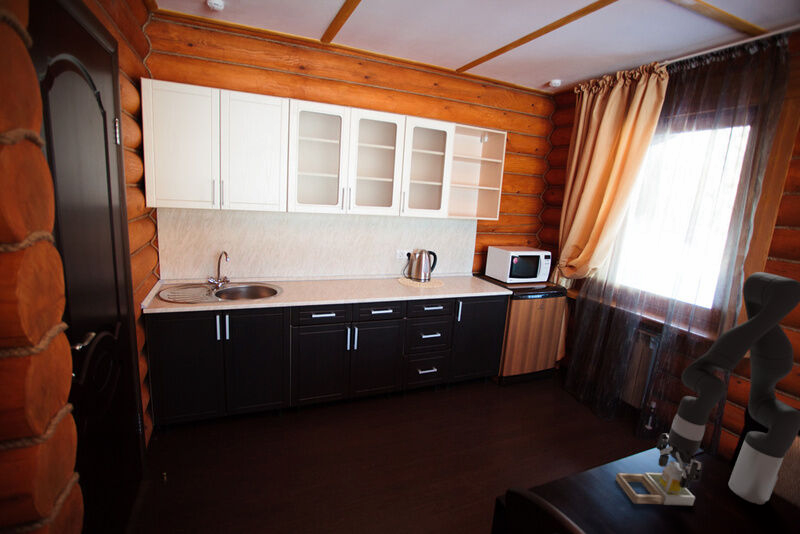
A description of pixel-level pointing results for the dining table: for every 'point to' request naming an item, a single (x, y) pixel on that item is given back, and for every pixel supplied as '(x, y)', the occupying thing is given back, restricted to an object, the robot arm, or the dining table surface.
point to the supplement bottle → (671, 479)
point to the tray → (681, 499)
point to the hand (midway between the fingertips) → (672, 476)
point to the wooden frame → (639, 498)
